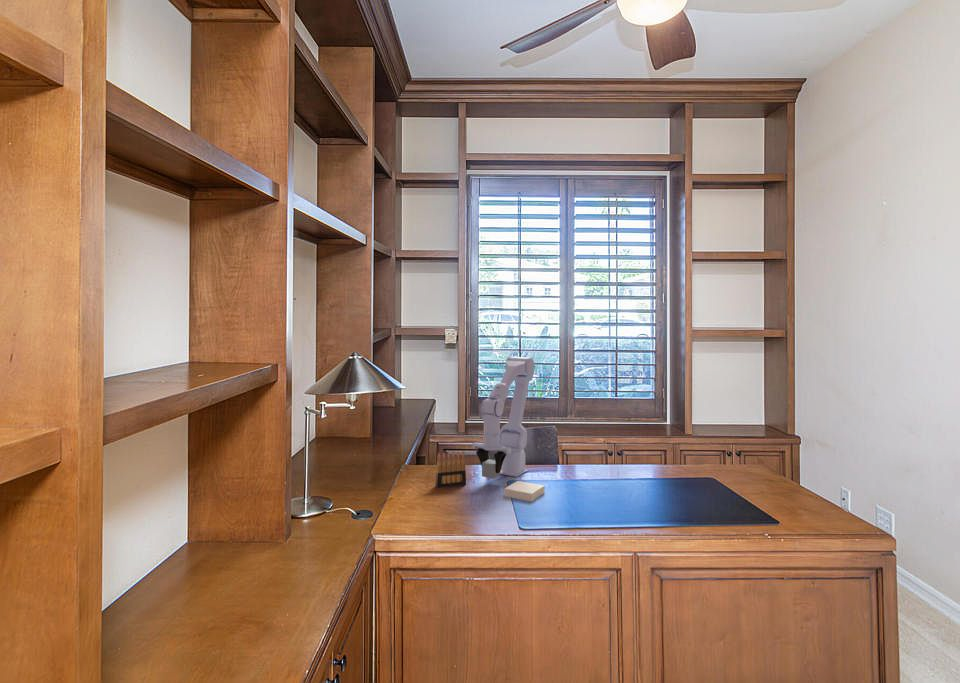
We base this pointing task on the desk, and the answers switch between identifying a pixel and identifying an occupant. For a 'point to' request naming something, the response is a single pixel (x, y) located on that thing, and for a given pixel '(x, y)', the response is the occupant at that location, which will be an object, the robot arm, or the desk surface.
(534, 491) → the cream block
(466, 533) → the desk surface
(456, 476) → the ammunition clip
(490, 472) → the grey cube
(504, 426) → the robot arm
